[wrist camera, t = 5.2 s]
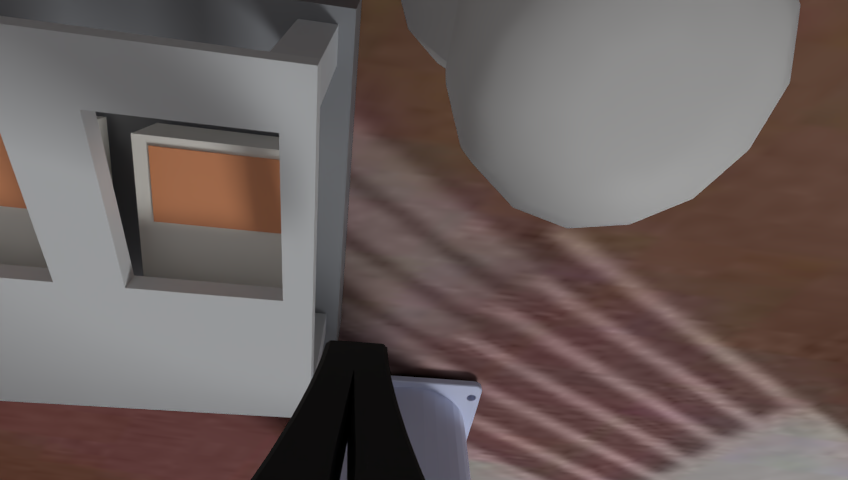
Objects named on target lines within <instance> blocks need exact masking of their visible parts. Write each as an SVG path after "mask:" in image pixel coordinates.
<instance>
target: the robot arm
mask: <svg viewBox="0 0 848 480" xmlns="http://www.w3.org/2000/svg"><path fill="white" fill-rule="evenodd" d="M481 393H482V388H481V385H480V383H478V382H476V381H465V380H451V379H436V378H421V377H407V376H392V375H391V374H390V368H389V362H388V354H387V347H386V346H385V345H384V344H375V343H362V342H349V341H335V340H330V341H329V342H327V343H326V344H325V347H324V351H323V354H322V356H321V359H320V361H319V364H318V366H317V369H316V371H315V373H314V375H313V377H312V379H311V381H310V384H309V386H308V388H307V390H306V392H305V393H304V395H303V397H302V399H301V401H300V403H299V404H298V406H297V408H296V410H295V412H294V414H293V415H292V417H291V419H290V421H289V422H288V424H287V425H286V427H285V429H284V430H283V432H282V433H281V435H280V437H279V438H278V440H277V441H276V443H275V445H274V446H273V448H272V449H271V451H270V453H269V454H268V456H267V457H266V459H265V460H264V462H263V463H262V464H261V466H260V467H259V469H258V470H257V472H256V473H255V475H254V476H253V477H252V479H251V480H471V478H470V470H469V461H468V452H467V443H466V440H467V437H468V434H469V431H470V428H471V425H472V421H473V418H474V415H475V412H476V409H477V405H478V402H479V399H480V396H481Z"/></svg>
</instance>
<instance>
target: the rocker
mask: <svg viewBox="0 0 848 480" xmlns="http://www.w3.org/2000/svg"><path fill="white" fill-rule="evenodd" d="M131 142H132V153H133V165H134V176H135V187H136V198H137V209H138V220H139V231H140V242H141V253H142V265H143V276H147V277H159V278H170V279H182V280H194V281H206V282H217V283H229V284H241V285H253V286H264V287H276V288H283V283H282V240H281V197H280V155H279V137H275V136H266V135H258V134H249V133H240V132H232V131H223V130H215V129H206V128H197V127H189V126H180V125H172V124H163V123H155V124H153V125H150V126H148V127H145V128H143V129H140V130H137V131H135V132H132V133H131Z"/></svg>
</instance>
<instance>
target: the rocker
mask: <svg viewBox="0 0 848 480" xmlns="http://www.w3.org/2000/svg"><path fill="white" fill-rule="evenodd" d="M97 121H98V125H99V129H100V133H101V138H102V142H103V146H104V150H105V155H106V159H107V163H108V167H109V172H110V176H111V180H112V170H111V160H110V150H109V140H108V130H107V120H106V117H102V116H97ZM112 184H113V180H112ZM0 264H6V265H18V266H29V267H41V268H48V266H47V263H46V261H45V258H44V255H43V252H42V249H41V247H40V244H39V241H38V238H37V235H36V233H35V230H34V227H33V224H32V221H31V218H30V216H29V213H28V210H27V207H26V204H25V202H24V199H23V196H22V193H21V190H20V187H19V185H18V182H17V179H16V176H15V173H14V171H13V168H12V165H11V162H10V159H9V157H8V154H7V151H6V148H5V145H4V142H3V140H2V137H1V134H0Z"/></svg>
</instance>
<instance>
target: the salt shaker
mask: <svg viewBox="0 0 848 480" xmlns="http://www.w3.org/2000/svg"><path fill="white" fill-rule="evenodd" d="M401 2H402V6H403V10H404V14H405V18H406V22H407V26H408V29H409V30H410V32H411V33H412V34H413V35H414V36H415V37H416V39H417V40H418V41H419V42H420V43H421V44H422V46H423V47H424V48H425V49H426V50H427V51H428V53H429V54H430V55H431V56H432V57H433V58H434V60H435V61H436V62H437V63H438V64H440V65H441V66H443V67H444V68H445V69H446V86H447V90H448V94H449V99H450V103H451V107H452V112H453V116H454V120H455V125H456V129H457V133H458V137H459V142H460V146H461V148H462V150H463V151H464V152H465V154H466V155H467V157H468V158H469V159H470V161H471V162H472V163H473V165H474V166H475V167H476V168H477V169H478V170H479V171H480V172H481V173H482V174H483V175H484V176H485V178H486V179H487V180H488V181H489V182H490V183H491V184H492V185H493V186H494V187H495V188H496V189H497V191H498V192H499V193H500V194H501V195H502V196H503V197H504V198H505V199H506V200H507V201H508V202H509V204H510V205H511V206H512V207H513V208H516V209H519V210H521V211H524V212H526V213H529V214H532V215H534V216H537V217H539V218H542V219H544V220H547V221H550V222H552V223H555V224H557V225H560V226H562V227H565V228H580V227H596V226H613V225H629V224H632V223H634V222H637V221H639V220H642V219H644V218H647V217H649V216H651V215H654V214H656V213H659V212H661V211H664V210H666V209H669V208H671V207H674V206H676V205H678V204H681V203H683V202H686V201H688V200H691V199H693V198H694V197H695V196H696V195H698V194H699V193H700V192H701V191H702V190H703V189H704V188H706V187H707V186H708V185H709V184H710V183H711V182H713V181H714V180H715V179H716V178H717V177H718V176H719V175H721V174H722V173H723V172H724V171H725V170H726V169H727V168H729V167H730V166H731V165H732V164H733V163H734V162H735V161H737V160H738V159H739V158H740V157H741V156H742V155H743V154H745V153H746V152H747V151H748V150H749V149H750V147H751V146H752V144H753V142H754V141H755V139H756V137H757V136H758V134H759V132H760V131H761V129H762V127H763V126H764V124H765V122H766V121H767V119H768V118H769V116H770V114H771V113H772V111H773V109H774V108H775V106H776V104H777V103H778V101H779V99H780V98H781V96H782V95H783V93H784V91H785V90H786V88H787V86H788V85H789V83H790V77H791V70H792V63H793V56H794V48H795V41H796V34H797V26H798V19H799V12H800V3H799V0H401Z"/></svg>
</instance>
